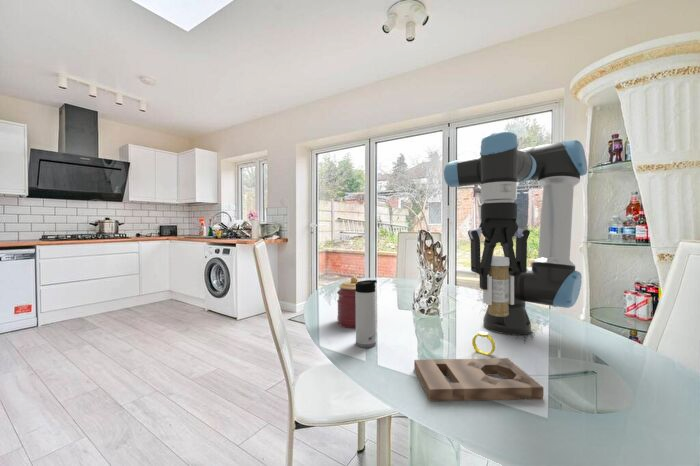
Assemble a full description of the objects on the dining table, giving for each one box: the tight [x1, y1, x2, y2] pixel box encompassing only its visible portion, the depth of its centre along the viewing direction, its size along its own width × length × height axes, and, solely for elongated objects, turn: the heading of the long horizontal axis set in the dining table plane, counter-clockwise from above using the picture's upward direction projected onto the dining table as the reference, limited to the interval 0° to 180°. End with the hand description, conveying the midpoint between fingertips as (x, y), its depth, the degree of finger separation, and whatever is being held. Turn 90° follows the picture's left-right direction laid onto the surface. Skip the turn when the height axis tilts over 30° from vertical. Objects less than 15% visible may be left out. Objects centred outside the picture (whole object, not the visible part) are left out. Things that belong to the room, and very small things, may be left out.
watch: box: [471, 331, 496, 356], centre depth 87 cm, size 6×3×6 cm, turn 45°
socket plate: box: [413, 357, 544, 402], centre depth 71 cm, size 24×14×2 cm, turn 91°
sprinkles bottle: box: [487, 255, 509, 317], centre depth 70 cm, size 5×5×13 cm
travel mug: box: [355, 279, 377, 349], centre depth 94 cm, size 6×7×20 cm
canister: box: [336, 276, 361, 329], centre depth 115 cm, size 13×13×18 cm
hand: (498, 303), depth 70 cm, fingers closed on sprinkles bottle, 4 cm apart
